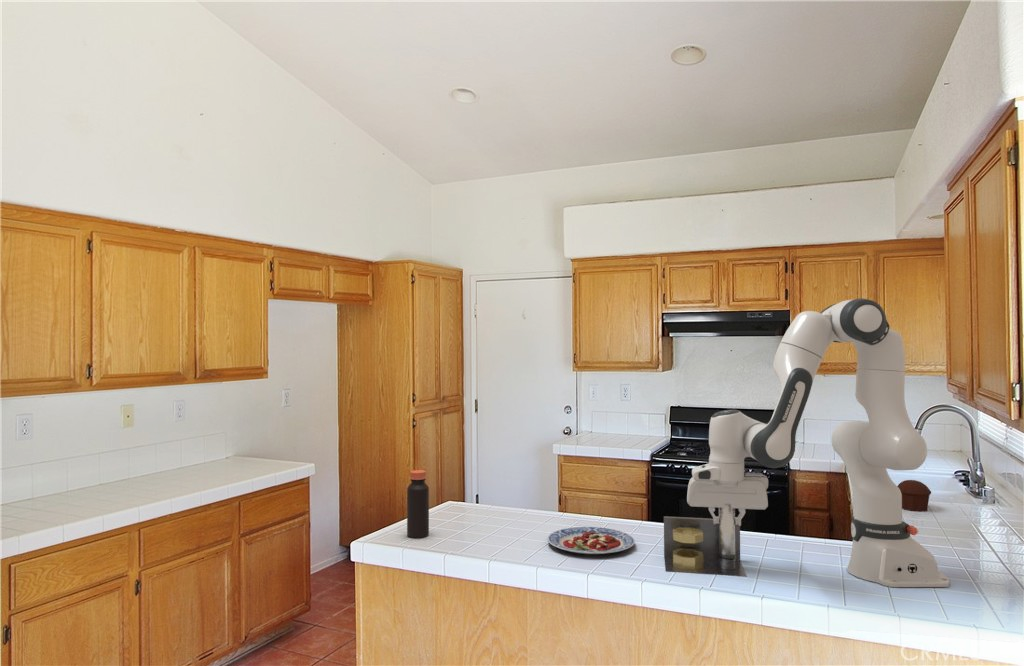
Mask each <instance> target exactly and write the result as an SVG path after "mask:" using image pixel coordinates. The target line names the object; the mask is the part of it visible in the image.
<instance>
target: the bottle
mask: <svg viewBox="0 0 1024 666" xmlns="http://www.w3.org/2000/svg"><path fill="white" fill-rule="evenodd" d="M409 478H410V484H409V485H408V486H407V488H406V499H407V500H406V509H407V510H406V513H407V514H406V517H407V518H406V519H407V520H406V524H407V525H406V529H407V531H406V533H407V534H406V535H407V537H408V538H412V539H424V538H425V537H428V536H429V534H430V525H429V523H430V522H429V521H430V511H429V509H430V501H429V500H430V488H429V485H427V484H426V479H427V471H426V470H423V469H415V470H411V471H409Z"/></svg>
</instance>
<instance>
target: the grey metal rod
mask: <svg viewBox="0 0 1024 666" xmlns="http://www.w3.org/2000/svg"><path fill="white" fill-rule="evenodd" d="M718 517H719V567H720V568H723V569H728V570H731V569H735V559H736V554H735V517H736V508H732V507H731V504H724V507H723V508H718Z"/></svg>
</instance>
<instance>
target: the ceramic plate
mask: <svg viewBox="0 0 1024 666" xmlns="http://www.w3.org/2000/svg"><path fill="white" fill-rule="evenodd" d="M635 541H636V540H635V538H634V537H633V536H632V535H630V534H628V533H627V532H625V531H624V532H623V531H621V530H617V529H614V528H607V527H598V526H575V527H567V528H562V529H558V530H554V531H553V532H552V533H550V534H549V535H548V536H547V542H548V543H549V544H550V545H552V546H553V547H555V548H558V549H560V550H564V551H566V552H571V553H576V554H580V555H582V554H583V555H594V556H595V555H597V556H598V555H607V554H611V553H612V554H613V553H618V552H622V551H625V550H627V549H630V548H632V547H633V546H634V545H635V544H636V543H635Z"/></svg>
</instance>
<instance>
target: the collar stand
mask: <svg viewBox="0 0 1024 666" xmlns="http://www.w3.org/2000/svg"><path fill="white" fill-rule="evenodd" d="M735 554H736V559H735V569H731V570H728V569H723V568H720V567H719V524H713V518H708V517H707V518H705V517H704V518H703V517H686V516H684V517H683V516H681V517H680V516H667V515H665V516H663V560H664V568H665V569H664V570H665V572H667V573H680V574H695V575H697V574H698V575H699V574H700V575H713V576H731V577H746V578H747V577H748V576H747V574H746V571H745V569H744V566H743V564H742V562H741V526H738V525H735Z"/></svg>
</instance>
